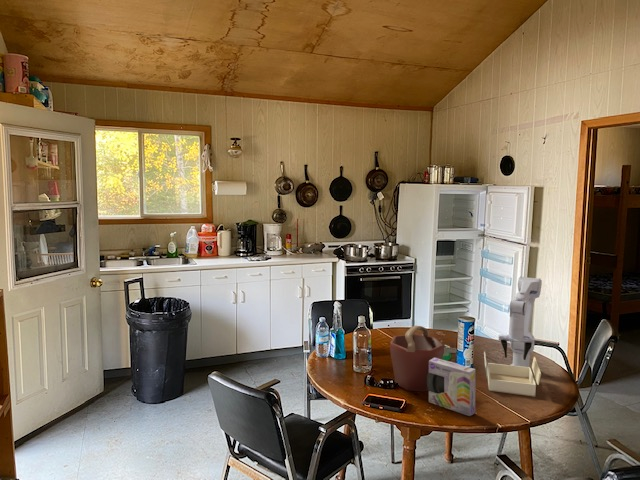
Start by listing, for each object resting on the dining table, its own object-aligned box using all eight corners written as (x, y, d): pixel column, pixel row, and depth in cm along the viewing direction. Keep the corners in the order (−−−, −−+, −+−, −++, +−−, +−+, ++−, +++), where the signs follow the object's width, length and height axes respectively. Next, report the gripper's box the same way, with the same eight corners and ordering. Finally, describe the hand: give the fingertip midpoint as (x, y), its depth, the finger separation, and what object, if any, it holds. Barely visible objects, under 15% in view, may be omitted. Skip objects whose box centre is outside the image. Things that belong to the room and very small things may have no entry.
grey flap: (486, 362, 226) (485, 362, 226) (485, 351, 226) (483, 351, 226) (488, 378, 207) (486, 378, 207) (486, 367, 207) (485, 367, 207)
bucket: (419, 399, 198) (422, 339, 195) (375, 383, 213) (377, 327, 210) (450, 382, 216) (453, 326, 213) (408, 368, 231) (409, 316, 228)
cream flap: (537, 384, 201) (538, 384, 201) (539, 373, 201) (541, 373, 201) (531, 367, 220) (532, 367, 220) (533, 356, 220) (535, 356, 220)
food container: (430, 361, 241) (430, 341, 239) (440, 360, 243) (441, 340, 242) (445, 370, 229) (445, 349, 228) (456, 369, 231) (457, 348, 230)
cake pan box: (425, 401, 197) (426, 358, 195) (432, 397, 200) (433, 355, 198) (469, 418, 183) (471, 372, 181) (475, 413, 187) (478, 368, 185)
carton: (487, 373, 226) (487, 362, 226) (529, 378, 221) (530, 367, 221) (488, 390, 207) (489, 379, 207) (535, 396, 202) (535, 384, 202)
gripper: (499, 328, 214) (498, 359, 215) (536, 332, 210) (533, 363, 211) (498, 324, 221) (497, 353, 222) (534, 327, 216) (532, 357, 218)
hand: (515, 358), depth 217 cm, fingers open, 7 cm apart
